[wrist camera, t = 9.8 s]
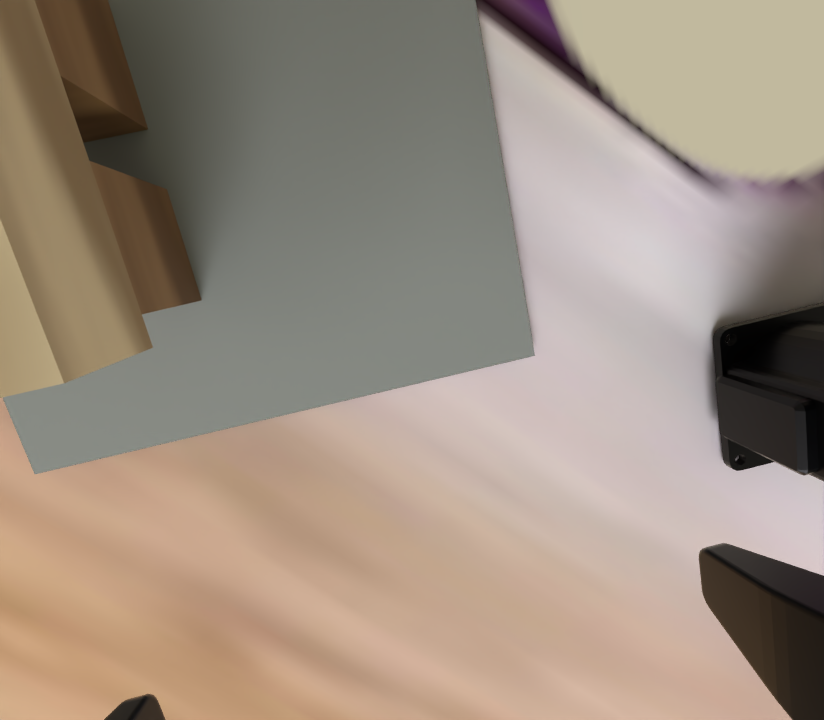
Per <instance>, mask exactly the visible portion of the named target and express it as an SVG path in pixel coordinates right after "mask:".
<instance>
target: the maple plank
mask: <svg viewBox="0 0 824 720" xmlns="http://www.w3.org/2000/svg"><path fill="white" fill-rule="evenodd" d="M151 348H153V346H152V343H151V340H150V337H149V334H148V331H147V328H146V325H145V322H144V320H143V317H142V314H141V311H140V308H139V305H138V302H137V299H136V296H135V293H134V290H133V287H132V284H131V281H130V279H129V276H128V273H127V270H126V267H125V264H124V261H123V258H122V255H121V252H120V249H119V246H118V243H117V240H116V237H115V235H114V232H113V229H112V226H111V223H110V220H109V217H108V214H107V211H106V208H105V205H104V202H103V199H102V196H101V193H100V191H99V188H98V185H97V182H96V179H95V176H94V173H93V170H92V167H91V164H90V161H89V158H88V155H87V152H86V150H85V147H84V144H83V141H82V138H81V135H80V132H79V129H78V126H77V123H76V120H75V117H74V114H73V111H72V108H71V106H70V103H69V100H68V97H67V94H66V91H65V88H64V85H63V82H62V79H61V76H60V73H59V70H58V67H57V64H56V62H55V59H54V56H53V53H52V50H51V47H50V44H49V41H48V38H47V35H46V32H45V29H44V26H43V23H42V21H41V18H40V15H39V12H38V9H37V6H36V3H35V0H0V398H2V397H7V396H11V395H15V394H20V393H24V392H28V391H33V390H37V389H42V388H46V387H50V386H55V385H59V384H63V383H66V382H69V381H71V380H74V379H76V378H79V377H81V376H84V375H86V374H89V373H91V372H94V371H96V370H99V369H101V368H104V367H106V366H109V365H111V364H114V363H116V362H119V361H121V360H124V359H126V358H128V357H131V356H133V355H136V354H138V353H141V352H143V351H146V350H148V349H151Z"/></svg>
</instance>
